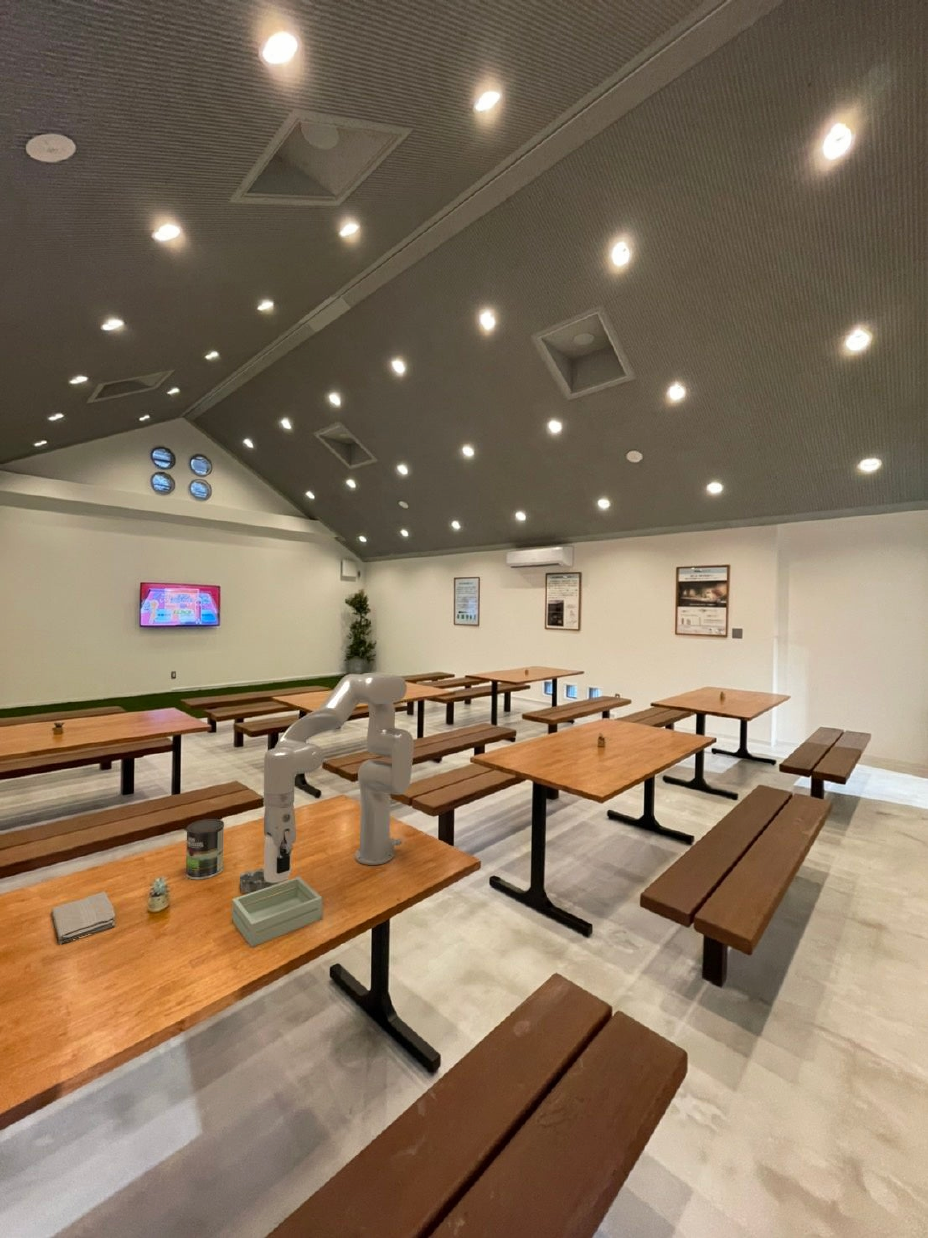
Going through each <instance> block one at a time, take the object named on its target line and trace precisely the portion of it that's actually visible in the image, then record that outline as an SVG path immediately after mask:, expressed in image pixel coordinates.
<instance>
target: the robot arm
mask: <svg viewBox="0 0 928 1238" xmlns="http://www.w3.org/2000/svg"><path fill="white" fill-rule="evenodd" d="M407 690H408V685H407V683H406V680H405V679H404V678H403V677H402V676H401V675H396V674H387V673H386V674H385V673H377V672H365V673H362V674H360V673H349V674H346V675H345V676H343V677H341V679H340V680H339V682H338V683H337V685H336V686H335V687H334V688H333V689H332V691H331V692H330V694H329V695H328V696H327V697H326V699H325V700H324V701H323V703H322V704H321V705H320V707H318V708H317V709H315V710H313V711H312V712H309V713H308V714H306V715H305V716H303V717H301V718H299V719H298V720H296V721H294V722H293V723H292V724H291V725H290V726H289V727H288V728H287V729H286V730H285V731H284V733H283V734H282V735H281V737H279V739H278V741H277V743H276V744H275V746H274V748H271V749H268V750H267V751H266V752H265V753H264V757H263V758H264V759H263V760H264V762H263V802H262V803H263V806H264V814H263V815H264V816H263V834H264V836H265V837H266V835H267V834H269V835H270V836H272V839H273V842H274V845H276V846H277V849H278V857H277V873H278V874H279V873H283V872H286V871H289V870H290V855H291V854H292V850H293V849H294V845H293V844H294V843H296V837H297V832H296V831H297V830H296V829H297V827H296V814H295V813H296V812H295V806H294V804H295V791H296V790H295V781H296V779H295V778H296V777H295V776H296V775H300V774H308V773H312V772H315V771H317V770H318V769H319V768H320V767H321V766H322V765H323V762H324V761H325V753H324V750H323V749H322V748H321V746H319V745H317V744H314V743H309V742H306V741H308V740H309V739H311V738H312V737H314V736H316V735H318V734H321V733H325V732H329V731H332V730H336V729H340V728H341V727H342V726H344V725H345V724H346V722H347V721H348V719H349V718H350V716H351V715H352V713H354V710H355V709H356V707H357V706H358V705H359V704H366V705H367V707H368V711H369V714H368V725H367V726H368V727H367V733H366V749H367V752H369V753H370V754H372V755H375V756H379V757H382V758H389V759H391V761H388V760H383V759H378V758H369V759H367V760H365V761H364V760H363V762H362V763H361V764H360V766H359V768H358V772H357V780H358V786H359V792H360V793H359V794H360V828H359V829H360V830H359V836H360V838H359V848H358V849H357V850H356V851H355V853H354V859H355V860H356V861H357V862H358V863H359V864H363V865H368V866H378V865H382V864H385V863H388V862H389V861H391V860H393V858H394V857H395V851H394V849H393V848H395V847H396V846H400V845H402V843H403V840H402V838H401V837H399V838H396V839H395V838H394V837H390V833H391V829H390V828H391V800H390V798H391V797H390V796H389V794H391V795H397V796H399V795H403V794H405V793H406V792H407V790H408V789H409V786H410V783H411V777H412V769H413V762H414V761H413V759H414V751H415V750H414V749H415V748H414V747H415V743H414V738H413V735H412V734H411V732H410V731H409V730H407V729H403V728H397V727H396V726H395V723H396V708H395V705H394V703H398V702H400V701H402V700H403V699H404V698H405V696H406V695H407ZM265 837H264V838H265ZM282 841H285V843H284V844H281V842H282ZM283 846H286V847H285V849H283V851H282V850H281V847H283ZM291 856H292V855H291ZM290 871H291V870H290Z"/></svg>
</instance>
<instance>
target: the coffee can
mask: <svg viewBox="0 0 928 1238" xmlns="http://www.w3.org/2000/svg"><path fill="white" fill-rule="evenodd" d="M224 826H225V822H224V821H223V820H222V819H218V818H207V819H200V820H197V821H194V822H192V823H190V824H189V825H187V826H186V829H185V830H186V858H185V859H186V862H185V863H186V864H185V865H186V867H185V876H186V878H187V879H190V880H198V881H199V880H205V879H206V880H207V879H210V878H213V877H215V876H217V875H219V874H220V873H221V872H222V871H223V870H224V866H223V864H224V863H223V862H224V830H225V828H224Z"/></svg>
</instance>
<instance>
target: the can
mask: <svg viewBox="0 0 928 1238" xmlns="http://www.w3.org/2000/svg"><path fill="white" fill-rule="evenodd" d="M284 843H285V841H282V842H281V844H284ZM285 847H286V846H283V847H281V850H282V851H283V849H285ZM263 851H264V854H263V855H264V856H263V857H264V859H263V860H264V861H263V869H264V879H265V881H266V882H268V883H282V882H285V881H288V879H290V877H291V871H292V870H291V865H292V863H291V862H292V860H291V859H292V855H290V870H289V871H286V872H283V873H279V874H278V873H277V857H278V849H277V846H276V845H274V842H273V839H272V836H270V835H269V834H267V835H266V837H264V850H263Z"/></svg>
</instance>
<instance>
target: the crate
mask: <svg viewBox="0 0 928 1238" xmlns="http://www.w3.org/2000/svg"><path fill="white" fill-rule="evenodd" d="M322 919H323V897H322V896H321V895H320V894H319V893H318V892H317V891H315V890H314V889H313V888H312V887H311V886H310V885H309V884H308V883H307V882H305V881H304V880H303V878H301V877H300V876H298V877H295V878H291V879H289V880H288V879H287V880H285V881H283V882H280V883H279V884H276V885H273V886H270V887H267V888H264V889H261V890H254V891H251V892H250V893H248V894H246V893H245V894H243V895H241V896H237V897H235V898H232V900H231V921H232V923H233V924H234V925H235V927H236V928H237V929H238V931H239V932H240V933H241V935H242V937H243V938H244V940H246V942H247V943H248V944H249V946H250V947H251V948H253V947H255V946H259V945H260V944H264V943H265V942H268V941H270V940H273V939H276V938H278V937H281V936H283V935H285V934H288V933H291V932H293V931H295V930H298V929H301V928H302V927H306V926H308V925H310V924H312V923H313V924H314V923H315V922H319V921H320V920H322Z"/></svg>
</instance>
